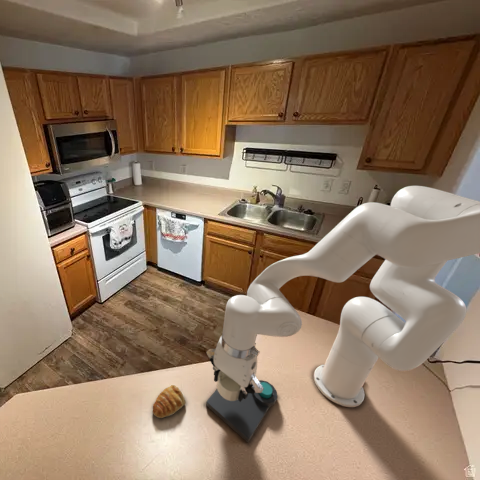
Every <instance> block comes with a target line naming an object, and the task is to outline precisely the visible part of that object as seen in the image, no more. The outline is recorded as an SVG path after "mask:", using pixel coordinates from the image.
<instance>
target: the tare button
mask: <svg viewBox="0 0 480 480" xmlns="http://www.w3.org/2000/svg"><path fill="white" fill-rule="evenodd" d="M260 384H261V385H262V387H263V388H264V389H263V391H262V392H261V393H259V395H260V396H261V397H263V398H270V397H271V394H272V387H271V386H270V385H269V384H268V383H265V382H262V383H260Z"/></svg>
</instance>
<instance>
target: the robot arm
mask: <svg viewBox="0 0 480 480" xmlns="http://www.w3.org/2000/svg"><path fill="white" fill-rule="evenodd" d="M477 254H480V201H479V200H476V199H472V198H470V197H469V198H468V197H466V196H461V195H459V194H455V193H452V192H448V191H445V190H442V189H438V188H434V187H429V186H424V185H408V186H405V187H403V188H401V189H399V190H398V191H396V193H395V194H394V196H393V197H392V199H391V201H390V205H388V204H384V203H381V202H373V201H371V202H370V201H369V202H364V203H362V204H360V205H357V206H356V207H355V208H354V209H353V210H351V211H350V213H348V214H347V215H345V217H343V219H342V220H341V221H340V222H338V223H337V225H335V226H334V227H333V228H332V229H331V230H330V231H329V232H328V233H327V234H325V236H323V238H322V239H321V240H319V241H318V242H317V243H316V244H315V245H314V246H313V247H312V248H311V249H310V250H309V251H308V252H305V253H303V254H298V255H293V256H289V257H286V258H284V259H280V260H278V261H276V262H274V263H272V264H270V265H269V266H267V267H266V268H265V269H264V270H262V272H261V273H259V275H258V276H256V278H255V279H253V281H252V282H251V283H250V285H249V286H248V288H247V292H246V295H244V294H236V295H234V296H231V297H230V298H229V299H228V300H227V302H226V305H225V309H224V310H225V311H224V319H223V328H222V333H221V334H222V335H221V336H220V337H219V339H218V342H217V344H216V347H215V348H208V349H207V350H206V353H205V354H206V355H207V356H208V358H209V362H210V363H211V365H212V370H213V376H214V377H213V382H215V383H217V380H218V374H219V372H220V371H222V372H223V373H225V374H226V375H227V376H229V377H230V378H231V379H233V380H234V381H235V382H237V383H238V384H239V385H240V386H241V390H240V393H239V398H238V400H239V401H240V402H241V401H242V399H243V398H244V399H246V398H247V396H248V393H252V394H254V393H261V392H262V391H263V389H264V388H263V387H262V385H261V384H260V382H259V381H258V380H259V379H258V377H257V376H256V375H257V368H258V357H259V355H260V353H261V351H260V350H258V348H257V347H256V345H257V343H256V341H257V336H258V335H260V336H267V337H268V336H269V337H275V338H277V337H278V338H286V337H291V336H294V335H296V334H297V333H299V332H300V331H301V329H302V327H303V326H302V325H303V320H302V318H301V315H300V314H299V313H298V311H297V310H296V309H295V307H294V306H293V305H292V304H291V303H290V301H289V299H288V298H286V297H285V294H283V293H282V291H281V290H280V289H281V287H283V286H284V285H285V284H286V283H288V282H289V281H291V280H293V279H295V278H297V277H298V278H299V277H303V276H304V277H305V276H307V277H308V276H309V277H316V278H320V279H324V280H327V281H330V282H332V283H343V282H345V281H347V280H348V279H349V278H350V277H351V276H353V274H354V273H356V272H357V270H360V269H361V267H363V266H364V265H365V264H366V263H367V262H368V261H370V260H371V259H372V258H374V257H375V256H376V255H378V256H380V257H381V258H383V259H384V261H383V262H382V264H381V266H379V269H378V270H377V271H376V272H375V274H374V276H373V277H372V278H371V281H370V284H369V290H370V292H371V294H372V295H373V296H374V297H375V298H376V299H377V300H376V299H374V298H372V297H368V296H356V297H353V298H351V299H349V300H348V301H347V302H346V303H345V304H344V305H343V307H342V309H341V312H340V319H339V320H340V321H339V328H338V331H337V334H336V337H335V339H334V341H333V343H332V346H331V348H330V351H329V353H328V355H327V358H326V360H325V362H324V364H321V365H319V366H317V367H316V369H315V370H314V372H313V380H314V384H315V386H316V387H317V389H318V390H319V392H321V394H322V395H323V396H324V397H325V398H327V399H328V400H330V401H331V402H333V403H335V404H336V405H338V406H341V407H346V408H355V407H359V406H360V405H361V404H362V403H363V402H364V399H365V391H364V390H365V389H364V387H363V386H364V384H365V383H366V380H367V379H368V377H369V376H370V374H371V372H372V370H373V368H374V366H375V364H377V362H378V360H379V359H380V360H381V361H382V362H383V363H384V364H386V366H387V367H390V368H392V369H393V370H395V371H399V372H408V371H412V370H414V369H417V368H418V367H420V366H421V365H422V364H424V363H425V362H426V361H427V360H428V359H429V358H430V357H431V356H432V355H433V354H434V353H435V352H436V351H437V350H438V349H439V348H440V347H441V346H442V345H443V344H444V343H445V341H447V339H448V338H450V337H451V336H452V334H453V333H455V331H456V330H457V329H458V328H459V327H460V326H461V325H462V323H463V322H464V321H465V319H466V316H467V306H466V303H465V302H464V301H463V300H462V298H460V297H459V296H458V295H456V294H455V293H453V292H452V291H451V290H449V289H447V288H445V287H443V286H442V285H440V284H438V283H437V282H436V277H437V276H438V274H439V273H440V271H441V270H442V269H443V267H444V266H445V265H446V263H448V261H453V260H458V259H461V258H465V257H469V256H474V255H477ZM378 300H379V301H380V302H379V301H378ZM399 316H400V317H399ZM251 383H252V384H253V385H252V384H251Z"/></svg>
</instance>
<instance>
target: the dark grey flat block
mask: <svg viewBox="0 0 480 480" xmlns="http://www.w3.org/2000/svg"><path fill="white" fill-rule="evenodd" d="M258 381H259V382H260V383H262V382H265V383H268V384H269V385H270V386H271V387H272V394H271V397H270V398H263V397H261V396H260V395H259V393H254V394H252V393H248V396H247V398H246V399H244V398H243V399H242V401H241V402H240V401H239V400H236V401H229V400H226V399H224V398H223V397H222V396H221V395H220V393H219V392H218V390H217V388H215V389H216V390H215V391H214V392H213V393H212V394H211V396H210V397H209V398H208V399H207V401H206V403H205V406H206V407H207V408H208V409H210V410H211V411H212V412H213V414H215V415H216V417H218V418H219V419H220V420H222V421H223V422H224V423H225V424H226V425H227V426H228V427H230V428H231V429H232V430H233V431H234V432H235V433H236V434H237V435H238V436H239V437H241V438H242V439H243V440H244V441H245V442H246V443H247V444H249V442H250V441H251V439H252V437H253V436H254V434H255V432H256V431H257V429H258V427H259V426H260V424H261V422H262V421H263V420H264V417H265V416H266V415H267V413H268V411H269V409H270V408H271V407H272V406H274V405H275V404H276V402H277V400H278V391H277V390H276V388H275V386H274V385H273V384H272V383H270V382H268V381H267V380H262V379H260V380H259V379H258ZM251 384H252V383H251ZM252 385H253V384H252Z"/></svg>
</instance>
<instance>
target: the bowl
mask: <svg viewBox="0 0 480 480" xmlns="http://www.w3.org/2000/svg"><path fill="white" fill-rule="evenodd" d="M216 389H217V390H218V392H219V393H220V395H221V396H222V397H223V398H224V399H226V400H229V401H236V400H238V398H239V393H240V390H241V386H240V385H239V384H238V383H237V382H235V381H234V380H233V379H231V378H230V377H229V376H227V375H226V374H225V373H223V372H222V371H220V372H219V374H218V380H217V382H216Z"/></svg>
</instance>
